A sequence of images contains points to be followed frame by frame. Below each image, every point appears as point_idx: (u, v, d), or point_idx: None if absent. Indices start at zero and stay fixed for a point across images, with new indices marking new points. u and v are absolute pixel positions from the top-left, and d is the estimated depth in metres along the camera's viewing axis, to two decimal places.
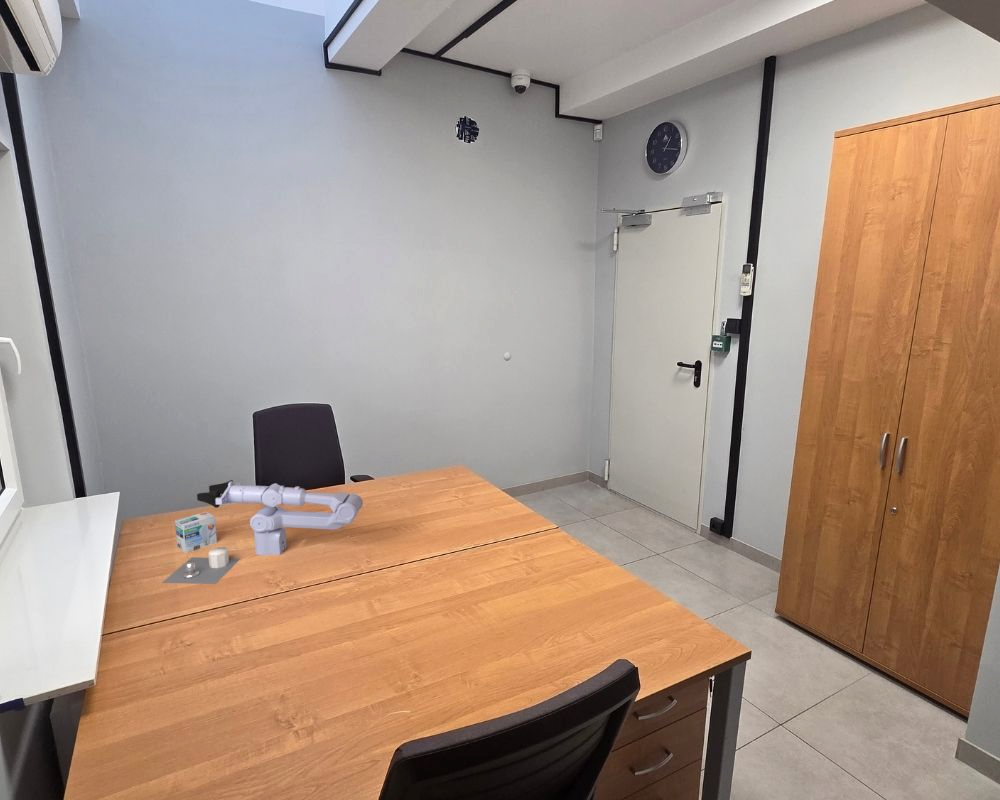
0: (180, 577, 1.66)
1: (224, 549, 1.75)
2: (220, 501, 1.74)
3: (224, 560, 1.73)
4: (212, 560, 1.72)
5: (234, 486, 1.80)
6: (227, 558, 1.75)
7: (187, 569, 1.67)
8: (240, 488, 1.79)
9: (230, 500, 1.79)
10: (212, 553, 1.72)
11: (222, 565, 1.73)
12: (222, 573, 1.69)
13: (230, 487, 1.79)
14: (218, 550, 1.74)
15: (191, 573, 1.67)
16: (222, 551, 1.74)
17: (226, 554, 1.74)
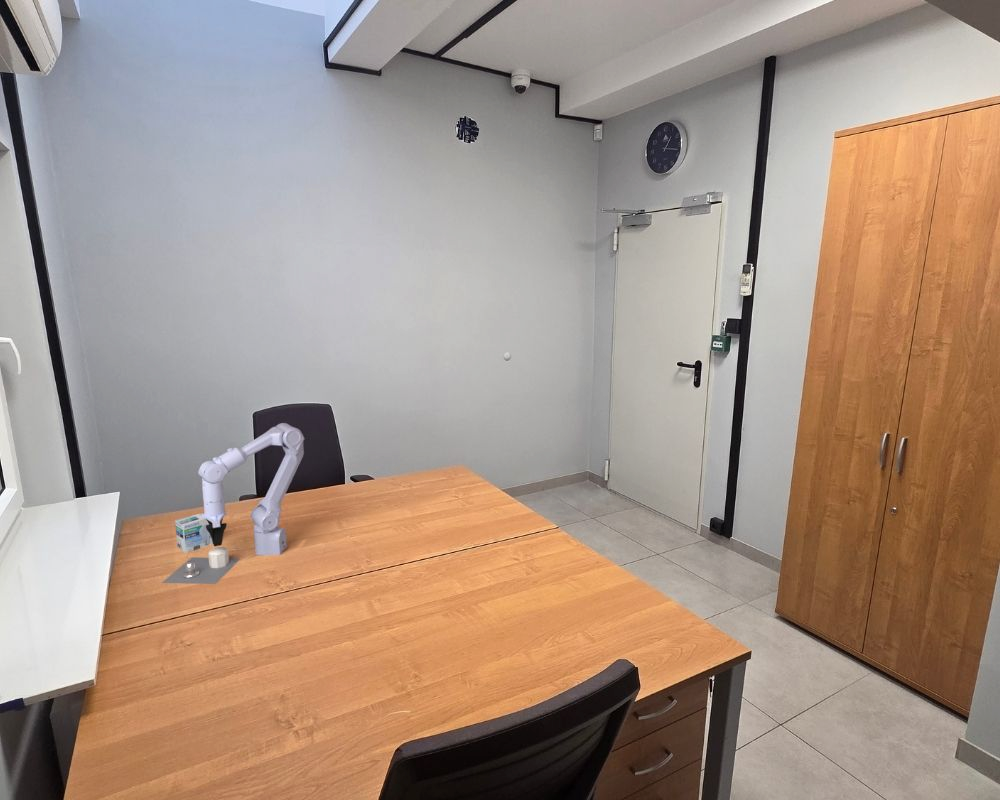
0: (180, 577, 1.66)
1: (224, 549, 1.75)
2: (216, 522, 1.66)
3: (224, 560, 1.73)
4: (212, 560, 1.72)
5: (204, 511, 1.70)
6: (227, 558, 1.75)
7: (187, 569, 1.67)
8: (205, 505, 1.69)
9: (220, 513, 1.70)
10: (212, 553, 1.72)
11: (222, 565, 1.73)
12: (222, 573, 1.69)
13: (205, 515, 1.69)
14: (218, 550, 1.74)
15: (191, 573, 1.67)
16: (222, 551, 1.74)
17: (226, 554, 1.74)
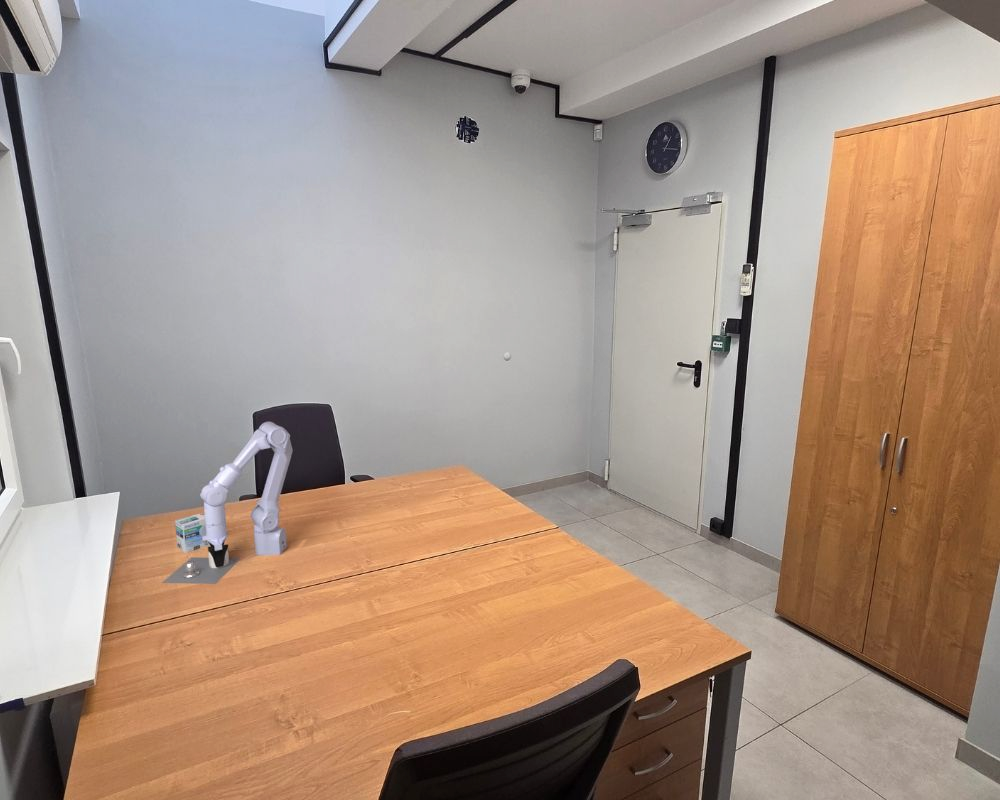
0: (180, 577, 1.66)
1: None
2: (217, 545, 1.67)
3: (224, 560, 1.73)
4: (212, 560, 1.72)
5: (206, 534, 1.71)
6: (227, 558, 1.75)
7: (187, 569, 1.67)
8: (207, 528, 1.70)
9: (222, 535, 1.72)
10: None
11: None
12: (222, 573, 1.69)
13: (207, 537, 1.71)
14: None
15: (191, 573, 1.67)
16: None
17: (226, 554, 1.74)
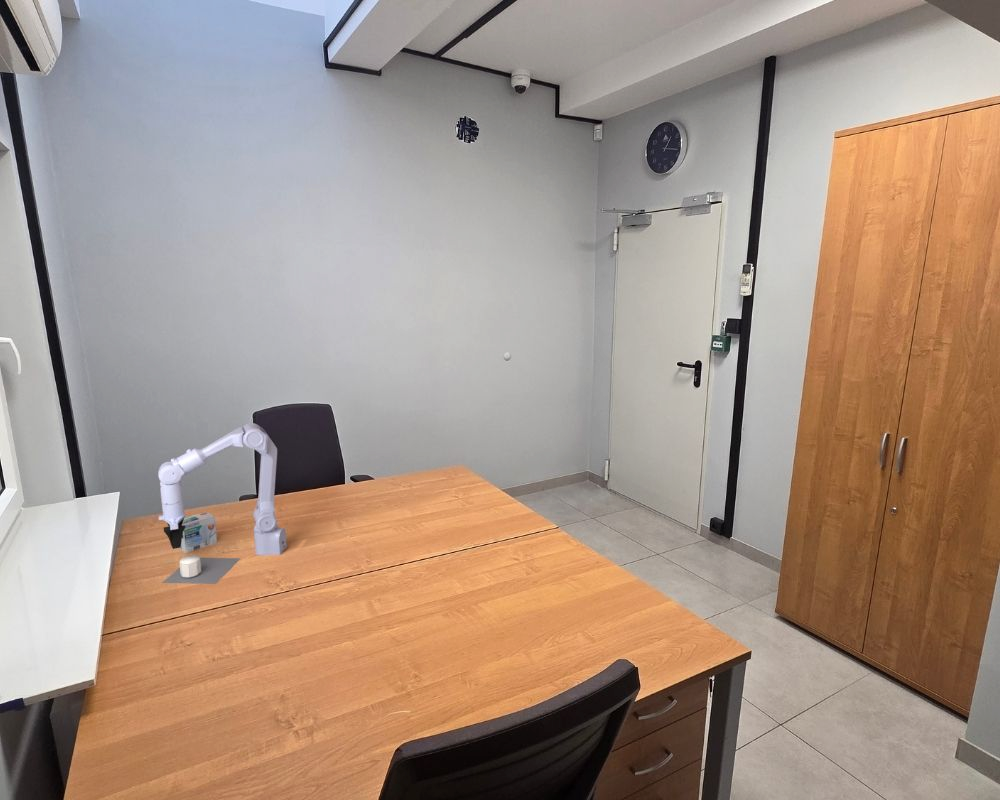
0: (180, 577, 1.66)
1: (196, 557, 1.68)
2: (173, 524, 1.63)
3: (196, 569, 1.66)
4: (183, 569, 1.65)
5: (163, 513, 1.67)
6: (199, 567, 1.68)
7: None
8: (163, 507, 1.66)
9: (178, 515, 1.67)
10: (183, 562, 1.65)
11: (194, 574, 1.66)
12: (222, 573, 1.69)
13: (163, 517, 1.66)
14: (190, 558, 1.67)
15: None
16: (194, 559, 1.67)
17: (198, 563, 1.67)
